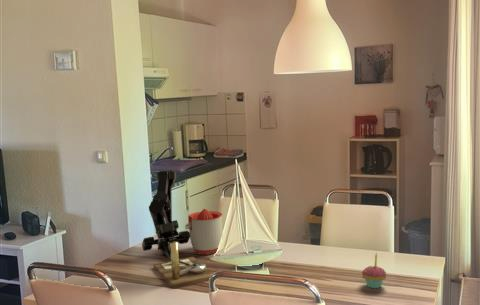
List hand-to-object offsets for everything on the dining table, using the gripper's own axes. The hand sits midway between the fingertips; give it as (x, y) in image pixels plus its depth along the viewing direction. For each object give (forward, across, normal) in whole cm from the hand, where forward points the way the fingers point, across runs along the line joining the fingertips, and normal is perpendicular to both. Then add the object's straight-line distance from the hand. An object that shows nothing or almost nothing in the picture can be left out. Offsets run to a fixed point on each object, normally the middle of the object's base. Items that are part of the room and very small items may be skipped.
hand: (171, 259), depth 188 cm
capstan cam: (+1, +5, +9) cm, 10 cm away
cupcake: (+38, +61, -26) cm, 76 cm away
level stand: (+2, +6, +10) cm, 12 cm away
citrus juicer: (-12, +24, +25) cm, 37 cm away
